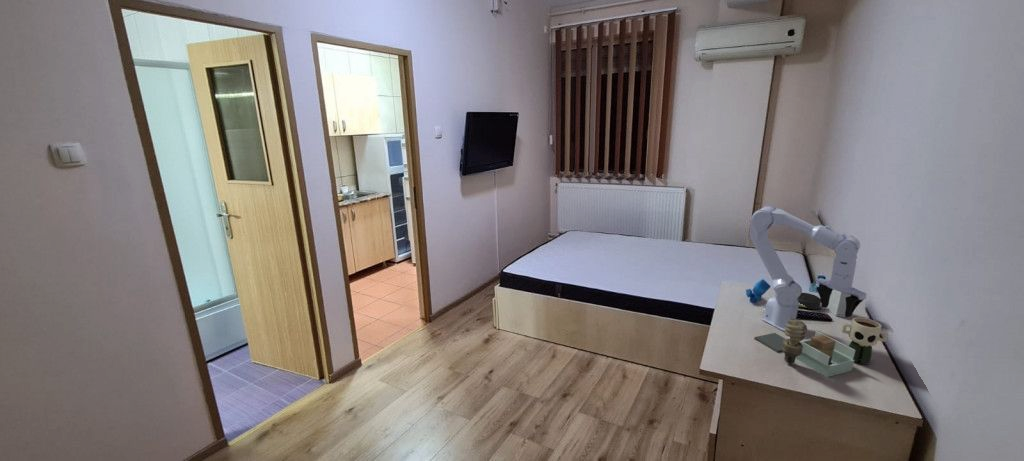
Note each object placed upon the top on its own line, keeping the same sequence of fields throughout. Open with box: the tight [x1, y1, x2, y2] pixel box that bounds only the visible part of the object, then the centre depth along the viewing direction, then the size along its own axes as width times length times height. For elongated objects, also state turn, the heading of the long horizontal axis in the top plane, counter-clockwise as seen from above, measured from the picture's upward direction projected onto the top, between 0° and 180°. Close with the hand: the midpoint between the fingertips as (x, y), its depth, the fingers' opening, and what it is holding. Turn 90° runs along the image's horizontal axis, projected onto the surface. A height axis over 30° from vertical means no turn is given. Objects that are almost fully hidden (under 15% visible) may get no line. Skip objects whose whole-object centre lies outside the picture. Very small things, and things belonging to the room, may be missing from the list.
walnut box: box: [809, 334, 837, 365], centre depth 133 cm, size 4×5×8 cm
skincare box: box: [828, 289, 851, 318], centre depth 163 cm, size 6×4×12 cm
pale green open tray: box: [795, 330, 855, 378], centre depth 133 cm, size 13×11×6 cm
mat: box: [753, 332, 786, 353], centre depth 144 cm, size 9×9×1 cm
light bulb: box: [782, 318, 808, 365], centre depth 131 cm, size 6×6×15 cm
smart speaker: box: [797, 292, 821, 311], centre depth 171 cm, size 9×9×4 cm
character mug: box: [841, 316, 889, 365], centre depth 133 cm, size 11×7×13 cm, turn 58°
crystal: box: [745, 278, 771, 304], centre depth 175 cm, size 7×9×12 cm
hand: (836, 311), depth 144 cm, fingers open, 7 cm apart
